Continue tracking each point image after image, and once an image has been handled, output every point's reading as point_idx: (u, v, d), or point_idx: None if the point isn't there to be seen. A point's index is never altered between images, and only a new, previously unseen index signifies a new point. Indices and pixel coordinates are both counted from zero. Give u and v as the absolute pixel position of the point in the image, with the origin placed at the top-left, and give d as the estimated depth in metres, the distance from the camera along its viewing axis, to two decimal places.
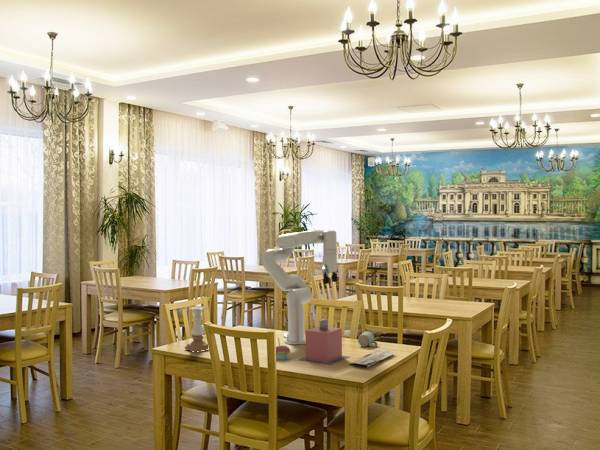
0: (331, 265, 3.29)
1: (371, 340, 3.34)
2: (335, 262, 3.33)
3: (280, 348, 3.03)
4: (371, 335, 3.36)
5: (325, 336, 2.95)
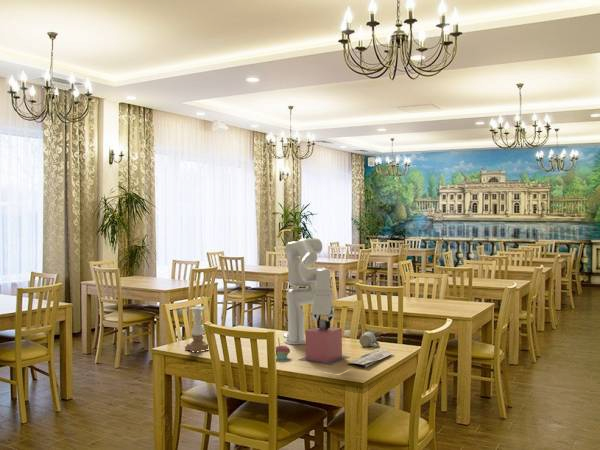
0: None
1: (372, 340, 3.34)
2: None
3: (280, 348, 3.03)
4: (372, 335, 3.36)
5: (325, 336, 2.95)
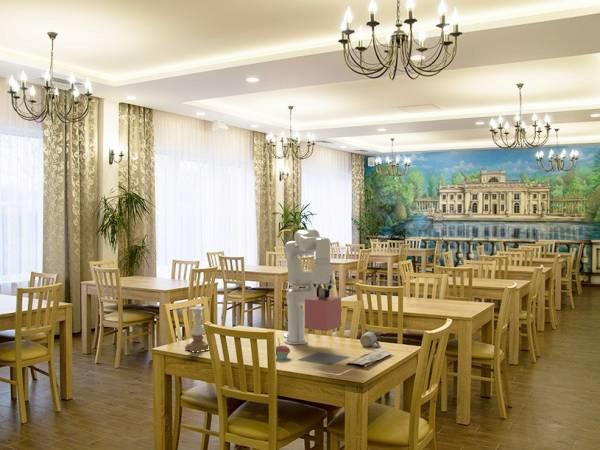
0: None
1: (373, 340, 3.33)
2: None
3: (280, 348, 3.03)
4: (373, 335, 3.35)
5: (324, 304, 2.95)
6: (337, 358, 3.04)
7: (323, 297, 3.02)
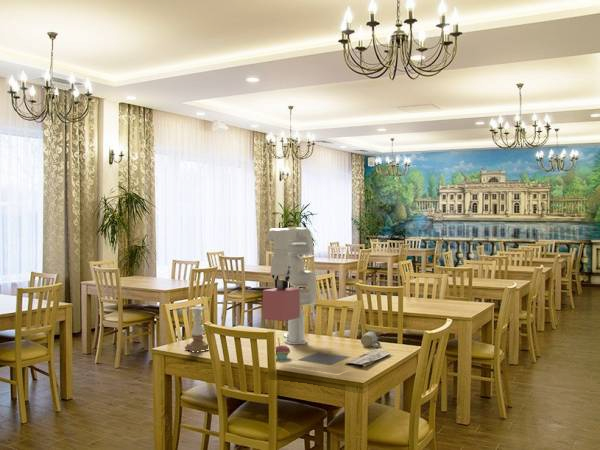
0: None
1: (374, 340, 3.33)
2: None
3: (280, 348, 3.03)
4: (374, 335, 3.35)
5: (281, 295, 2.97)
6: (337, 358, 3.04)
7: (281, 288, 3.03)
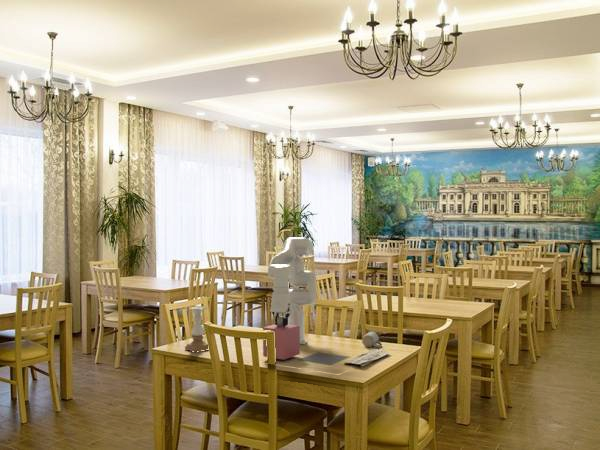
0: None
1: (375, 340, 3.33)
2: None
3: None
4: (375, 335, 3.35)
5: (281, 333, 2.97)
6: (337, 358, 3.04)
7: (281, 325, 3.03)
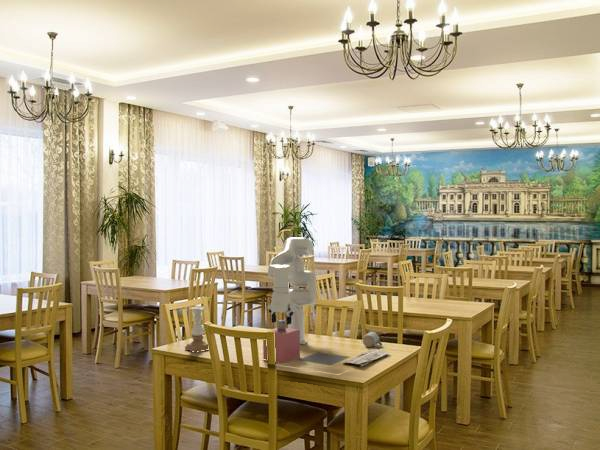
0: None
1: (376, 340, 3.33)
2: None
3: None
4: (376, 335, 3.35)
5: (282, 337, 2.97)
6: (337, 358, 3.04)
7: (281, 329, 3.04)
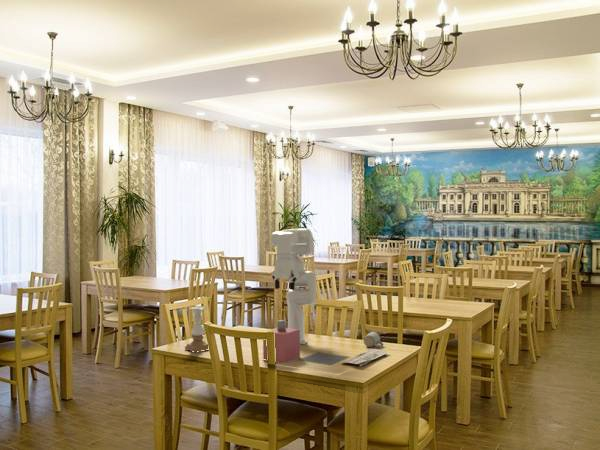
0: None
1: (377, 341, 3.32)
2: None
3: None
4: (377, 335, 3.34)
5: (282, 337, 2.97)
6: (337, 358, 3.04)
7: (281, 329, 3.04)
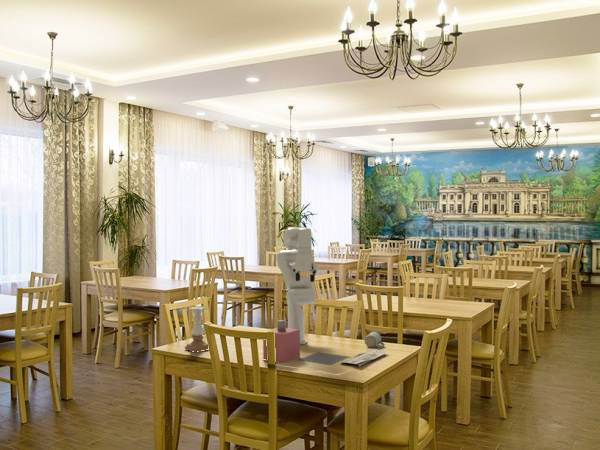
0: None
1: (378, 341, 3.32)
2: None
3: None
4: (378, 336, 3.34)
5: (282, 337, 2.97)
6: (337, 358, 3.04)
7: (281, 329, 3.04)
